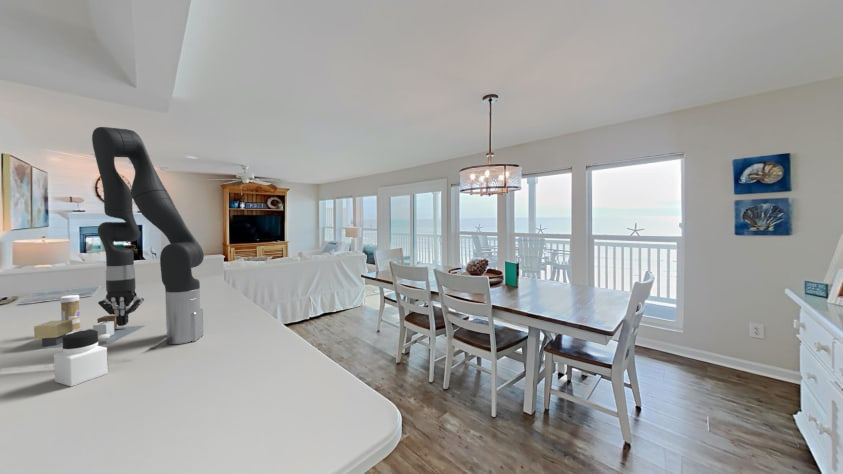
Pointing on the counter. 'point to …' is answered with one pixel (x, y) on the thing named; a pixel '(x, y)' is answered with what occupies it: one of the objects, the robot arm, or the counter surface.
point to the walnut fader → (108, 319)
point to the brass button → (53, 329)
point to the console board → (112, 338)
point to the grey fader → (104, 328)
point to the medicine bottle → (80, 358)
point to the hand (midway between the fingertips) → (122, 325)
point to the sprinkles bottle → (71, 310)
